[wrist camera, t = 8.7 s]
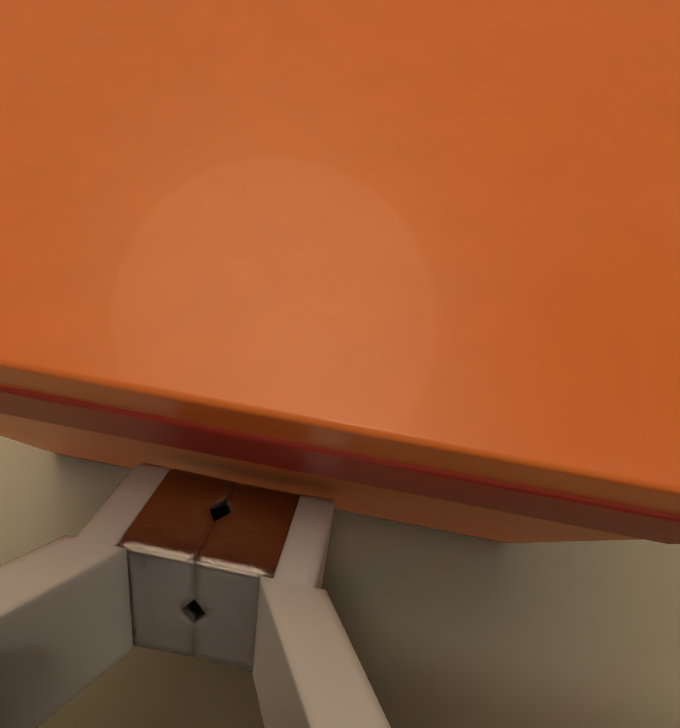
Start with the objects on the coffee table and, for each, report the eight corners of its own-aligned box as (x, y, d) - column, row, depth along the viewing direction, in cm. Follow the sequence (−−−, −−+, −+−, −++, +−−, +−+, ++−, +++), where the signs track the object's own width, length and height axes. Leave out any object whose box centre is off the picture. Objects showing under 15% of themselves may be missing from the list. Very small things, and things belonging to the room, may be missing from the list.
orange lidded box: (50, 454, 13) (-523, 273, 4) (198, 52, 17) (54, -439, 9) (510, 546, 12) (902, 544, 4) (547, 102, 16) (769, -384, 8)
